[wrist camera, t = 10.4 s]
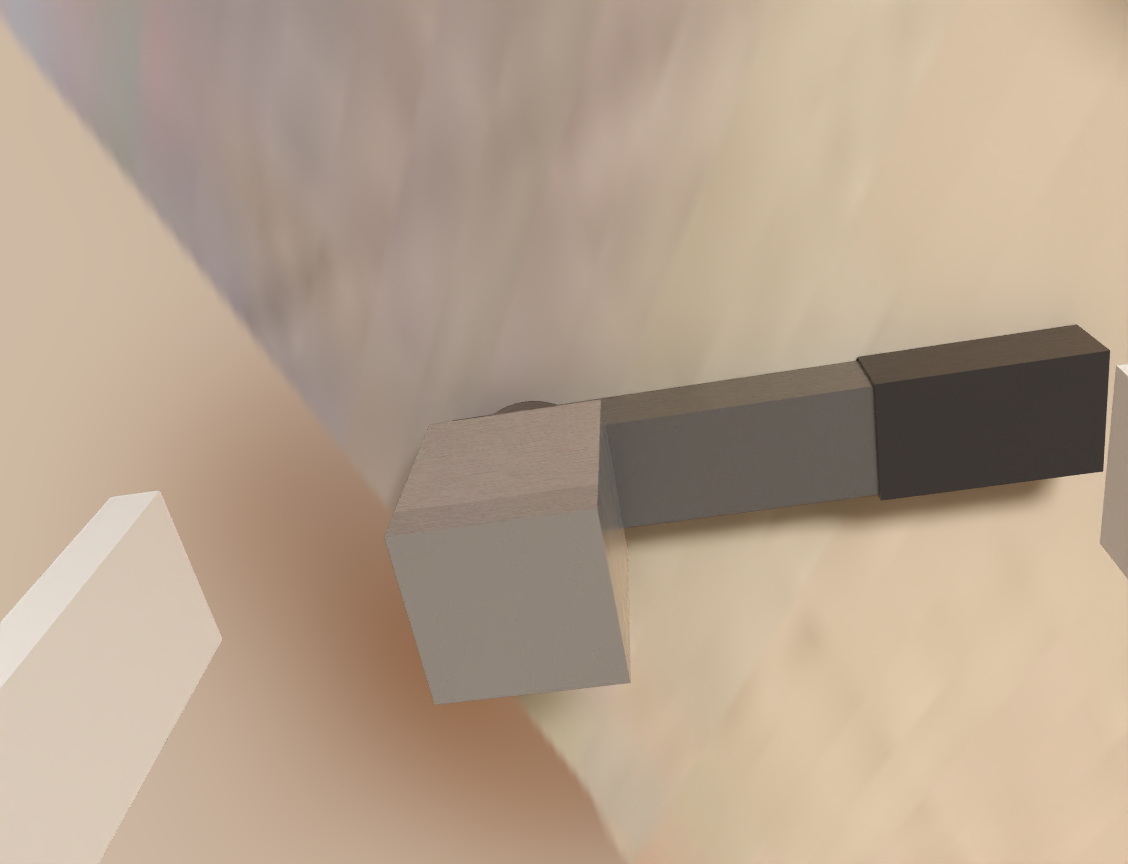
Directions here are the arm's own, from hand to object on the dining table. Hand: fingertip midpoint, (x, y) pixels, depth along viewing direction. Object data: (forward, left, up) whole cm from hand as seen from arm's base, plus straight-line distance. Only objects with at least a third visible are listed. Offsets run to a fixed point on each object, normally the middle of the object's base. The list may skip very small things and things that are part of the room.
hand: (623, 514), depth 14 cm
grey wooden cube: (+10, -5, -21) cm, 24 cm away
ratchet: (+11, +4, -24) cm, 26 cm away
